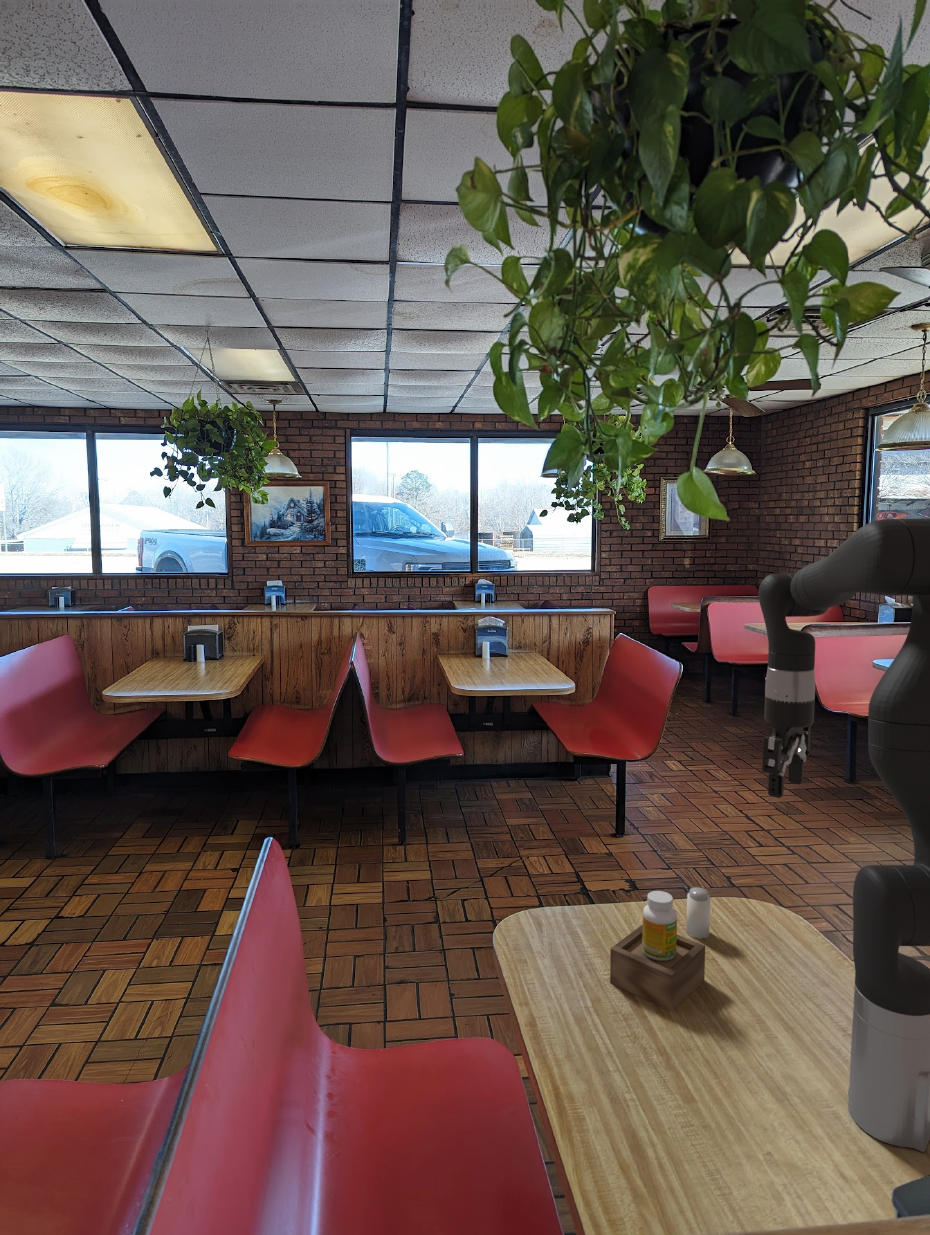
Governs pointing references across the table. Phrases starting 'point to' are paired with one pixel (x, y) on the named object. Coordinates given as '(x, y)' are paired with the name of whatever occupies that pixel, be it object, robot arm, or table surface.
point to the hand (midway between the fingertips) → (785, 789)
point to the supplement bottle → (659, 927)
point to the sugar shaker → (698, 913)
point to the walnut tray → (657, 970)
